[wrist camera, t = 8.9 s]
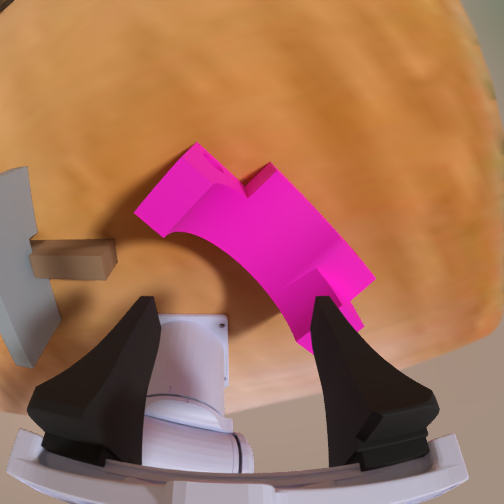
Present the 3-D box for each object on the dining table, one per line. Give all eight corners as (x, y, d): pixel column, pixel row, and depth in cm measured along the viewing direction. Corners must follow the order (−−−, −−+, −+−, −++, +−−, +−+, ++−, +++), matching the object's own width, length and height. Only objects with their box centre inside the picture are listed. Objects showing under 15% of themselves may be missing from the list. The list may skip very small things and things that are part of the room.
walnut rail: (114, 239, 23) (101, 255, 20) (117, 261, 24) (105, 280, 21) (-26, 241, 22) (-43, 254, 19) (-21, 259, 23) (-37, 273, 20)
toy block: (354, 251, 25) (393, 301, 19) (299, 299, 27) (320, 359, 20) (222, 116, 20) (218, 117, 13) (162, 180, 22) (133, 212, 15)
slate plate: (61, 320, 26) (32, 368, 20) (46, 318, 26) (16, 365, 20) (27, 166, 20) (-27, 189, 13) (10, 169, 19) (-43, 193, 13)
